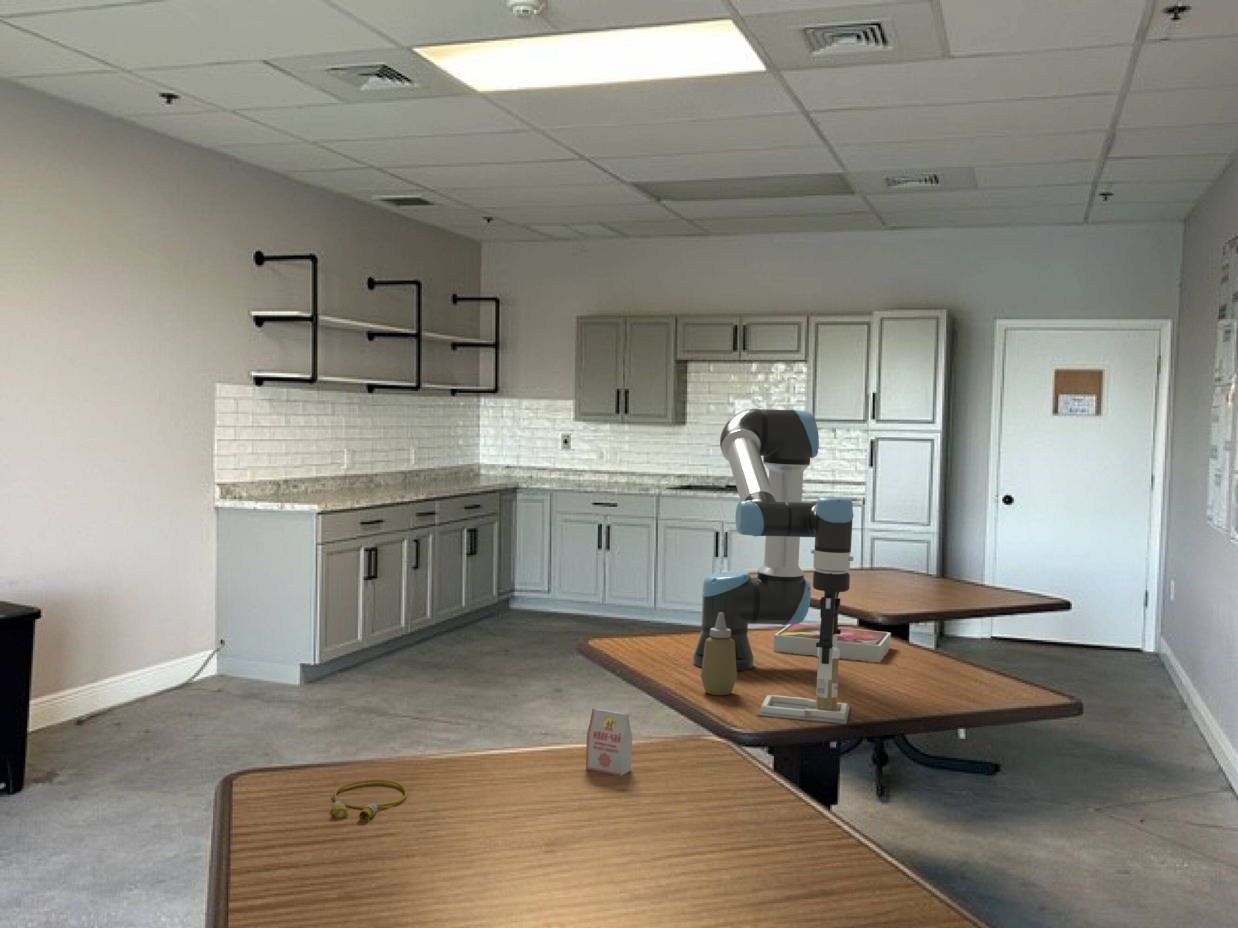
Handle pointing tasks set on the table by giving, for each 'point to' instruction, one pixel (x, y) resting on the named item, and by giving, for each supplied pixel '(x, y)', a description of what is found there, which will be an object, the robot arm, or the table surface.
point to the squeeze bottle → (719, 660)
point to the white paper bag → (609, 743)
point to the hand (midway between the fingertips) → (827, 671)
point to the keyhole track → (802, 710)
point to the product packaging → (848, 642)
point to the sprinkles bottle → (828, 686)
